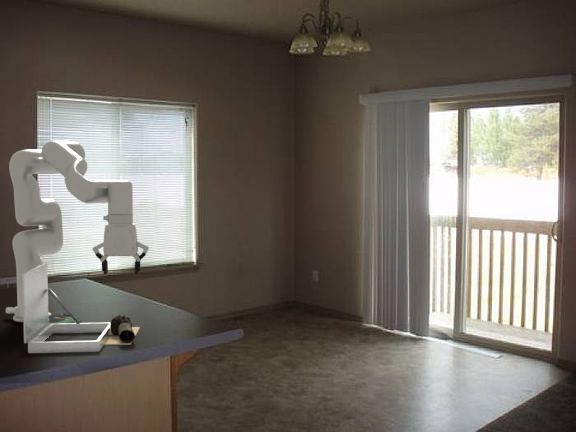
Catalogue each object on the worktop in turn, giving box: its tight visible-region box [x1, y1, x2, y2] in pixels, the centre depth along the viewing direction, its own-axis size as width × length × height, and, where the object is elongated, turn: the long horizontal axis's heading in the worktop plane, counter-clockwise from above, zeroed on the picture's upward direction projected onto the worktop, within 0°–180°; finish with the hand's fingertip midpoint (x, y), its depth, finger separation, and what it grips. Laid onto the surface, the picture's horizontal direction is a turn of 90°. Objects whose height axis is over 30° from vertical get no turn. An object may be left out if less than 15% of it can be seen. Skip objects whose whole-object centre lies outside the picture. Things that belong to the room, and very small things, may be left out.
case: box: [22, 262, 111, 354], centre depth 192 cm, size 21×23×23 cm
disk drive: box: [49, 312, 83, 324], centre depth 214 cm, size 10×3×15 cm
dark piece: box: [110, 314, 136, 344], centre depth 197 cm, size 18×7×6 cm, turn 18°
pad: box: [103, 326, 141, 346], centre depth 199 cm, size 8×20×1 cm, turn 5°
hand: (121, 273), depth 198 cm, fingers open, 9 cm apart
